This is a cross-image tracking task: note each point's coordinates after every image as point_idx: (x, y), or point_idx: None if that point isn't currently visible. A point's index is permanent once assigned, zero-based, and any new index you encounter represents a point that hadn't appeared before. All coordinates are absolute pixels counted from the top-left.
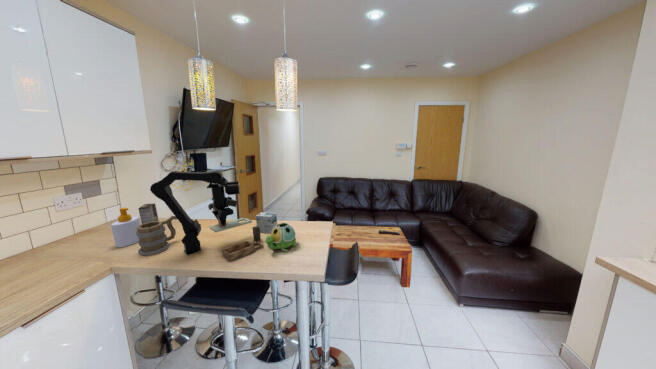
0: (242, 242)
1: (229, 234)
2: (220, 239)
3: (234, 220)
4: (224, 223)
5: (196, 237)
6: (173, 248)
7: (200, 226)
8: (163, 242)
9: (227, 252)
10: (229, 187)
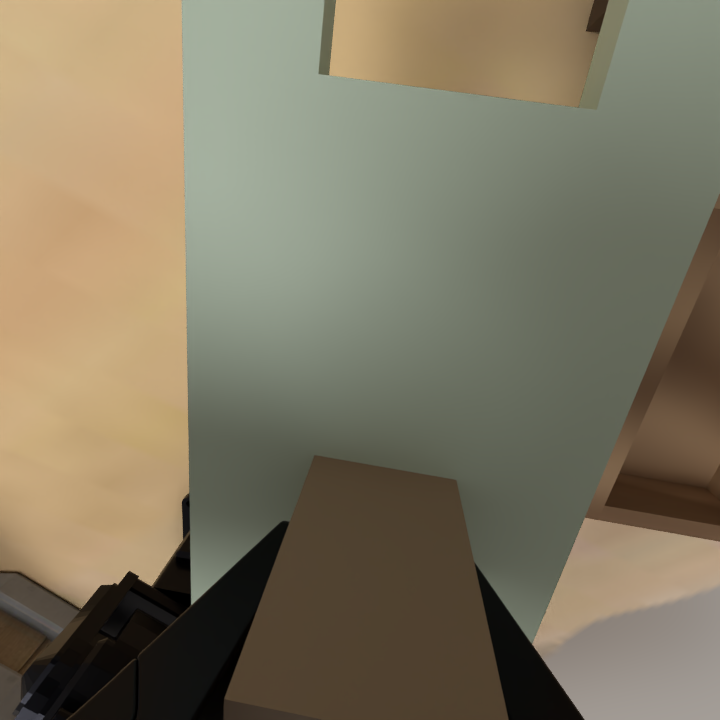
0: (685, 289)
1: (111, 144)
2: (181, 294)
3: (226, 104)
4: (497, 616)
5: (168, 592)
6: (86, 579)
7: (77, 693)
8: (9, 660)
9: (705, 525)
10: None
